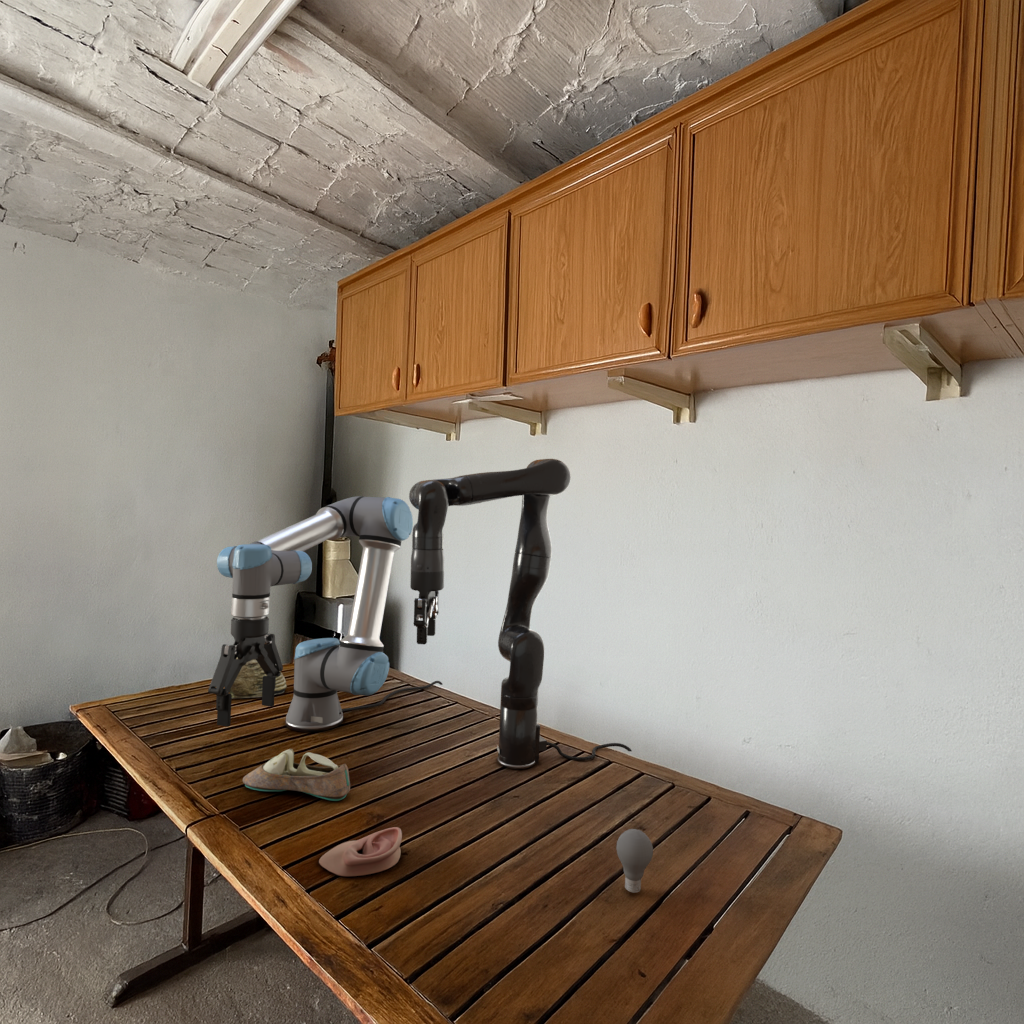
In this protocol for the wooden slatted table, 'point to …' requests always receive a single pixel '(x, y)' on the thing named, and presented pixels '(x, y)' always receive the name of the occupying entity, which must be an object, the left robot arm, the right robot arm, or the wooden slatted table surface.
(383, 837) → the anatomical model
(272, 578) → the left robot arm
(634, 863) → the light bulb
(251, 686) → the fossil
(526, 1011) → the wooden slatted table surface
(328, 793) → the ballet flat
